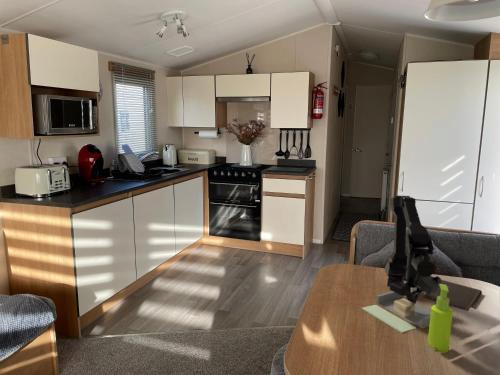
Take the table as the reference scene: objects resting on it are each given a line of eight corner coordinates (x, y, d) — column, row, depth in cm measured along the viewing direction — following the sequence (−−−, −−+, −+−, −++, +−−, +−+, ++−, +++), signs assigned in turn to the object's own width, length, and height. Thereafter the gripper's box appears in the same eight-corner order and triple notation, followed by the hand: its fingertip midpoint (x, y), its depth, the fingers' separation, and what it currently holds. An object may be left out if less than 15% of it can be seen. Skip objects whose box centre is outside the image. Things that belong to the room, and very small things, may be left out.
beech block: (402, 308, 139) (403, 298, 138) (414, 314, 134) (415, 304, 134) (393, 311, 136) (394, 301, 136) (404, 317, 132) (405, 307, 131)
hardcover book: (422, 302, 148) (423, 296, 148) (439, 284, 165) (440, 279, 164) (468, 316, 137) (468, 310, 137) (481, 295, 154) (482, 290, 154)
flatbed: (400, 299, 149) (401, 288, 148) (447, 323, 131) (448, 311, 131) (376, 306, 143) (376, 295, 142) (421, 332, 125) (422, 320, 125)
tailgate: (375, 304, 141) (361, 307, 138) (416, 327, 125) (401, 332, 122) (375, 307, 141) (361, 310, 138) (416, 330, 126) (401, 334, 122)
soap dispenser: (446, 343, 119) (452, 284, 116) (449, 355, 113) (457, 293, 110) (425, 339, 121) (432, 281, 118) (428, 351, 115) (434, 290, 111)
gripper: (417, 278, 123) (413, 322, 125) (453, 268, 131) (449, 310, 134) (390, 267, 132) (387, 308, 135) (425, 258, 141) (421, 297, 144)
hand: (412, 306), depth 137 cm, fingers closed
